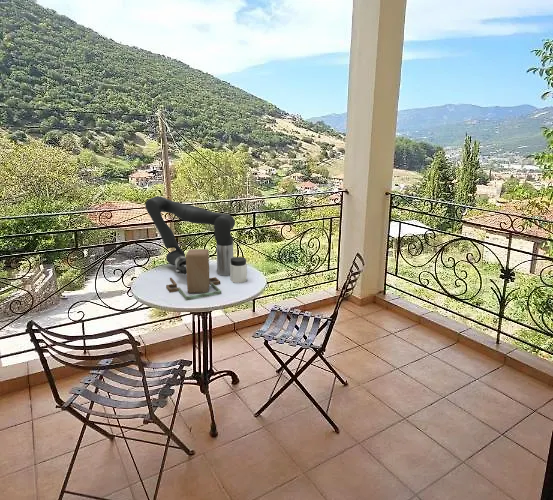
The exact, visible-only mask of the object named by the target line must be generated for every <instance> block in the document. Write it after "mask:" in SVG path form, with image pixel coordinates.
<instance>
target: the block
mask: <svg viewBox="0 0 553 500" xmlns="http://www.w3.org/2000/svg"><path fill="white" fill-rule="evenodd" d="M209 252H210V251H209V249H207V248H203V249H202V248H201V249H200V248H199V249H198V248H197V249H196V248H194V249H193V248H192V249H191V248H190V249H188V250H187V252H186V253H185V257H186V269H187V274H186V285H187V293H191V294H193V293H197V294H203V293H209V289H210V287H211V285H210V278H211V277H210V257H209V256H210V255H209V254H210V253H209Z"/></svg>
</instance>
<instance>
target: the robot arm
mask: <svg viewBox="0 0 553 500" xmlns="http://www.w3.org/2000/svg"><path fill="white" fill-rule="evenodd" d="M144 205H145V209H146V211H147V214H148V215H149V217H150V218H151V220H152V222H153V223H154V225H155V227H156V229H157V231H158V233H159V234H160V237H161V239H162V243H163V246H164V247H165V248H166V249H175V250H173V251H169V252H168V253H166V258H165V259H166V261H167V263H168V264H170V265H171V266H175V271H176V273H177V274H181V275H187V269H186V253H185V252H184V251H183V249H182V248H181V247H180V245H179V243H178V242H177V239H176V237H175V234H174V232H173V230H172V228H171V227H170V226H169V225H168V224H167V222H166V221H165V220H164V218H163V215H162V213H167V214H172V215H174V216H176V217H177V218H178V219H180V220H181V221H184V222H188V223H191V224H196V225H197V224H198V225H199V224H201V225H202V224H204V225H211V226H212V225H213V227H214V228H213V229H214V230H213V232H214V239H215V242H216V243H215V244H216V274H217V275H219V276H224V277H225V276H230V263H231V258H234V257H235V256H234V239H233V237H232V234H231V230H232V229H233V228H234V227H235V225H236V221H235V218H234V217H233V216H232V215H230V214H228V213H221V212H215V211H210V210H207V209H204V208H201V207H197V206H194V205H190V204H186V203H182V202H177V201H173V200H170V199H169V198H166V197H162V196H159V195H158V196H153V197H150V198H148V199H147V200H146V201H145V204H144Z"/></svg>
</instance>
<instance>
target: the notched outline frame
mask: <svg viewBox="0 0 553 500" xmlns="http://www.w3.org/2000/svg"><path fill="white" fill-rule="evenodd" d="M209 278H210V287H211V288H213V289H214V290H215V291H210V292H209V291H208V292H206V293H197V294H192V295H187V294H186V293H185V292H184V291H183V289H182V288H181V287H178V284H177V283H176V281H175V280H174V279H173V278H172V277H169V281H170V282H171V284H166V286H165V288H166V290H167V291H168V292H169V293H177V292H179V293H180V295H181V296H182V297H183V299H184V300H185V301H190V300H191V301H192V300H195V299H201V298H205V297H212V296H216V295H217V296H218V295H221V294H222V290H221V288H219V287H218V285H221V280H220V279H219V278H217V276H215V277H209Z"/></svg>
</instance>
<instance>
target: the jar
mask: <svg viewBox="0 0 553 500" xmlns="http://www.w3.org/2000/svg"><path fill="white" fill-rule="evenodd" d="M247 271H248V264H247V259H246V257H242V256H234V258H231V263H230V275H229V276H230V277H229V279H230V281H231V282H232V283H237V284H242V283H244V282H247V281H248V272H247Z"/></svg>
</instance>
